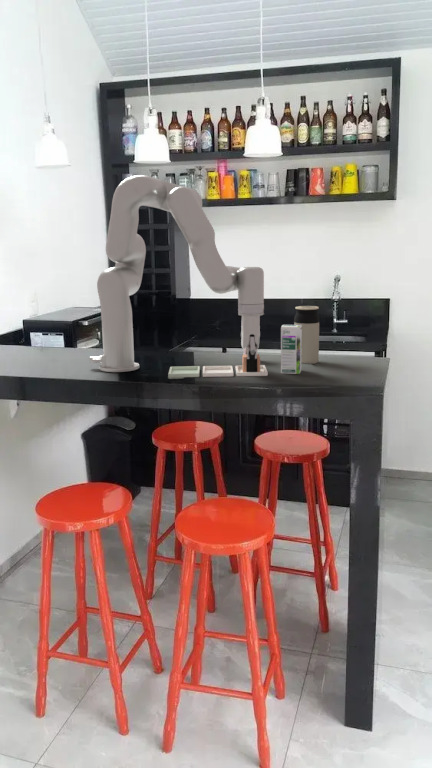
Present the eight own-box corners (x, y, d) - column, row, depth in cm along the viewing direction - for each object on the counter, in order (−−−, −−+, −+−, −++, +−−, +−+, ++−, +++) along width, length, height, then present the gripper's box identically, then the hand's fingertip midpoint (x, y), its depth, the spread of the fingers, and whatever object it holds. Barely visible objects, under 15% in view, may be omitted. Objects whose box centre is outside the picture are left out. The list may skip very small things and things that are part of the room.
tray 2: (202, 378, 189) (202, 373, 189) (203, 370, 200) (202, 366, 200) (233, 377, 189) (233, 372, 189) (232, 370, 200) (232, 365, 200)
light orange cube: (243, 374, 192) (243, 357, 191) (242, 370, 197) (242, 354, 196) (260, 373, 192) (260, 357, 191) (258, 370, 197) (258, 354, 196)
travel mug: (314, 359, 216) (315, 305, 212) (321, 364, 208) (322, 307, 204) (290, 360, 215) (291, 306, 211) (297, 365, 207) (298, 308, 203)
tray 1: (168, 378, 189) (168, 373, 189) (170, 371, 200) (170, 366, 199) (199, 378, 189) (199, 373, 189) (199, 370, 200) (199, 366, 200)
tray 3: (236, 377, 189) (236, 372, 189) (235, 370, 200) (235, 365, 200) (267, 377, 189) (267, 372, 189) (264, 369, 200) (264, 365, 200)
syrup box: (280, 374, 193) (280, 326, 189) (282, 371, 198) (283, 323, 195) (299, 375, 191) (300, 326, 188) (301, 371, 197) (302, 324, 194)
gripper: (237, 306, 199) (237, 364, 203) (239, 313, 182) (240, 376, 186) (261, 306, 199) (261, 364, 203) (266, 312, 182) (266, 375, 186)
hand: (251, 369), depth 194 cm, fingers open, 5 cm apart
